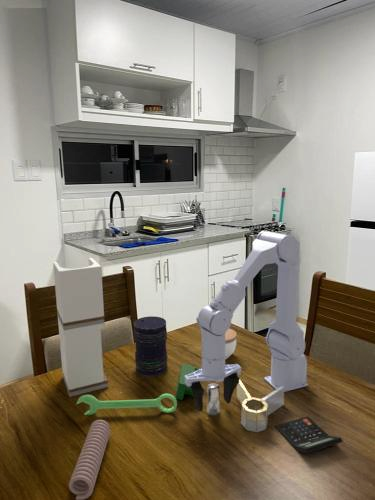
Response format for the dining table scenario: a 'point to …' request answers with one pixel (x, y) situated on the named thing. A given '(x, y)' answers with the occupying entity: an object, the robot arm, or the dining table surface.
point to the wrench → (125, 403)
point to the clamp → (181, 385)
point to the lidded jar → (230, 342)
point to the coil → (90, 460)
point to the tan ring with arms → (258, 407)
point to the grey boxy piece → (80, 326)
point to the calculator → (306, 435)
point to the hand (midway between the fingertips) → (213, 404)
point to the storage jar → (150, 345)
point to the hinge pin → (213, 399)
